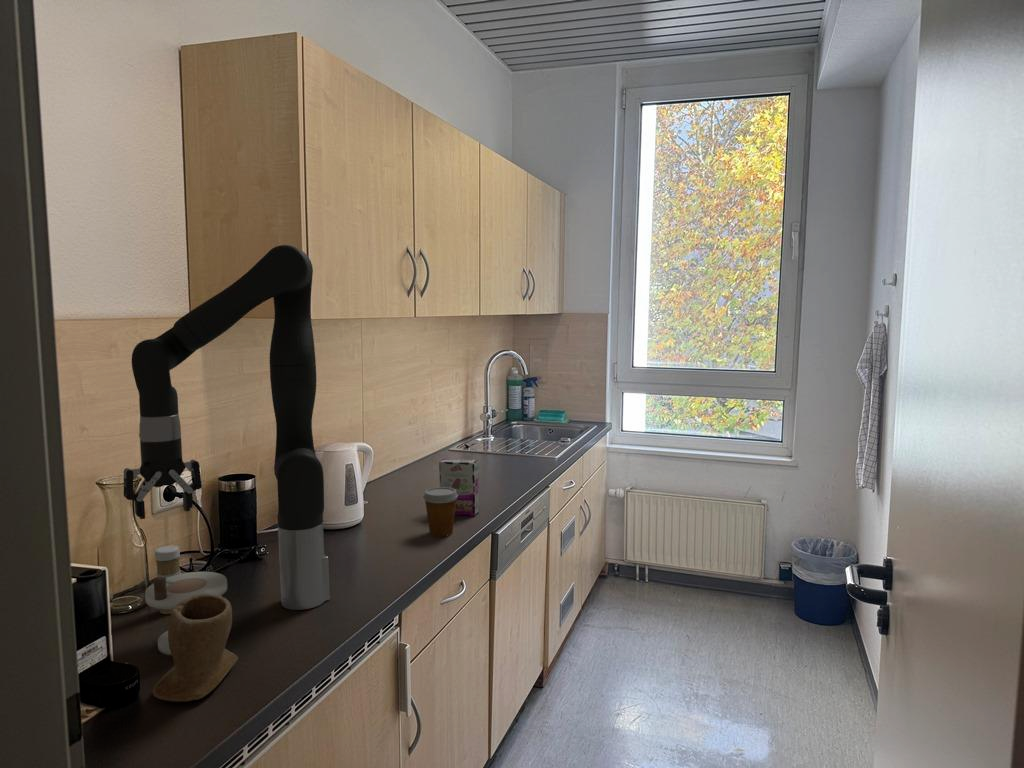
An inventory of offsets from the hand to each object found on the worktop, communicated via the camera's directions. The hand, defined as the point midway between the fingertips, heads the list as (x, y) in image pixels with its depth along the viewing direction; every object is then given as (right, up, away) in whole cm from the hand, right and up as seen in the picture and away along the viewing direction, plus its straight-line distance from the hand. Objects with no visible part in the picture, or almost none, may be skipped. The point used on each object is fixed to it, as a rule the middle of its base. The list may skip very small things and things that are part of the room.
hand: (164, 514), depth 146 cm
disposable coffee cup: (+52, -15, +51) cm, 74 cm away
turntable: (+10, -13, -12) cm, 20 cm away
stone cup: (+19, -24, -26) cm, 40 cm away
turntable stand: (+10, -22, -11) cm, 27 cm away
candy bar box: (+56, -13, +70) cm, 90 cm away
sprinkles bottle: (0, -21, +2) cm, 21 cm away
